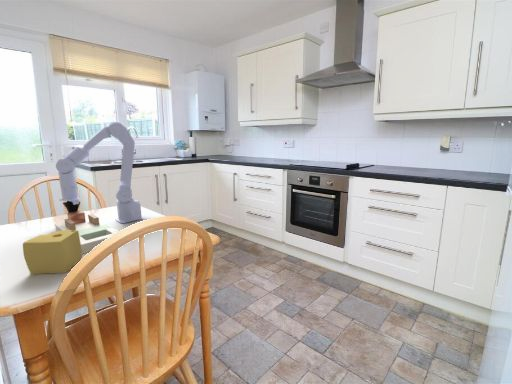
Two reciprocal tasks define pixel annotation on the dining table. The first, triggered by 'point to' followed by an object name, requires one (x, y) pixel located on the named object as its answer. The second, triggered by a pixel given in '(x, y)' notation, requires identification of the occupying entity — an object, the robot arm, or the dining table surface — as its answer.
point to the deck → (88, 231)
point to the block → (77, 217)
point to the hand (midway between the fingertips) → (73, 217)
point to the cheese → (52, 252)
